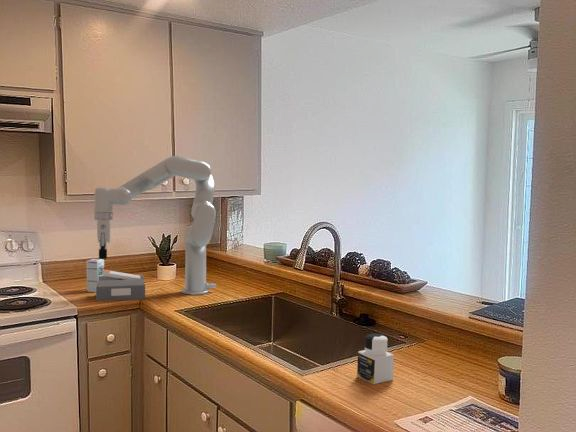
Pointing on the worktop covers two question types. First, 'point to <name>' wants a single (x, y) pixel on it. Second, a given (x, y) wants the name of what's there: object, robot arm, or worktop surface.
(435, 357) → the worktop surface
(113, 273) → the rocker switch
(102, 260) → the syrup box
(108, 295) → the breaker box
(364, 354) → the medicine bottle
